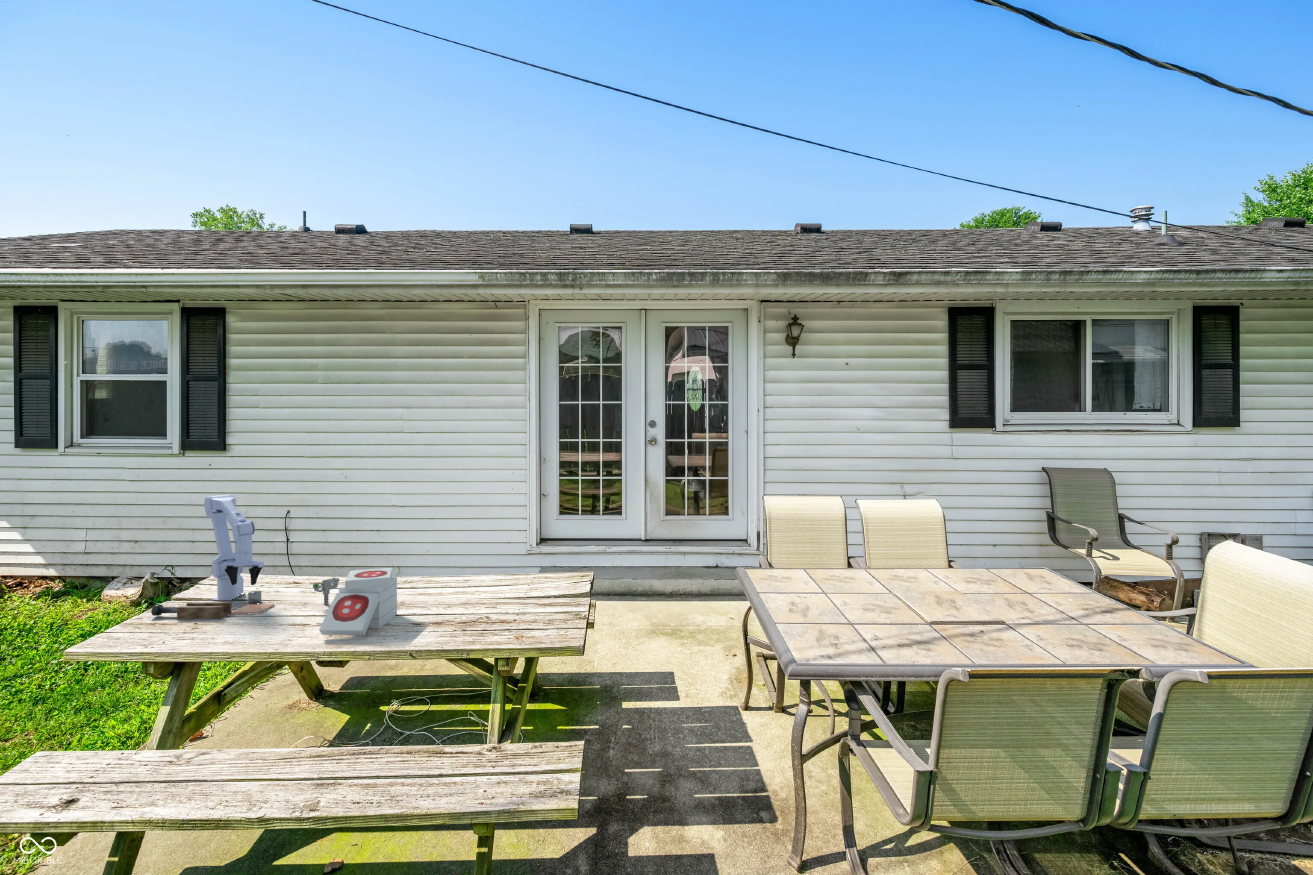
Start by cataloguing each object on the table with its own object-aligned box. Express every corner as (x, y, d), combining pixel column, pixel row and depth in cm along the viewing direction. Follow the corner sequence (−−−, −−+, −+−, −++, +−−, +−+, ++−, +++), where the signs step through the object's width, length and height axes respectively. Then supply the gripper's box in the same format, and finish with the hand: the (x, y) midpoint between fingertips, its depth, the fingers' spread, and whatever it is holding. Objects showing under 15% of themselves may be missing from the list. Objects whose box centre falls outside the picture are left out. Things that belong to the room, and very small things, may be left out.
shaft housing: (177, 619, 221) (176, 607, 221) (188, 613, 227) (188, 602, 227) (221, 618, 222) (221, 606, 222) (231, 613, 228) (231, 602, 228)
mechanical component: (311, 607, 236) (311, 583, 236) (335, 600, 245) (335, 577, 245) (316, 608, 235) (316, 584, 235) (340, 601, 244) (340, 578, 244)
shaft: (151, 617, 221) (151, 606, 221) (159, 613, 225) (159, 603, 225) (205, 616, 223) (205, 606, 222) (212, 613, 227) (212, 602, 226)
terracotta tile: (248, 605, 237) (248, 603, 237) (274, 605, 238) (274, 603, 238) (232, 614, 227) (232, 612, 227) (259, 613, 228) (259, 611, 228)
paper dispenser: (313, 640, 202) (313, 589, 201) (357, 612, 232) (357, 567, 231) (368, 641, 202) (368, 590, 202) (405, 612, 232) (405, 567, 232)
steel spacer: (252, 601, 243) (252, 590, 243) (263, 601, 244) (263, 590, 243) (245, 604, 239) (245, 593, 239) (257, 604, 239) (257, 593, 239)
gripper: (218, 553, 233) (218, 587, 233) (255, 553, 233) (256, 587, 234) (230, 549, 240) (230, 582, 240) (266, 549, 240) (266, 582, 241)
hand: (243, 584), depth 237 cm, fingers open, 7 cm apart
